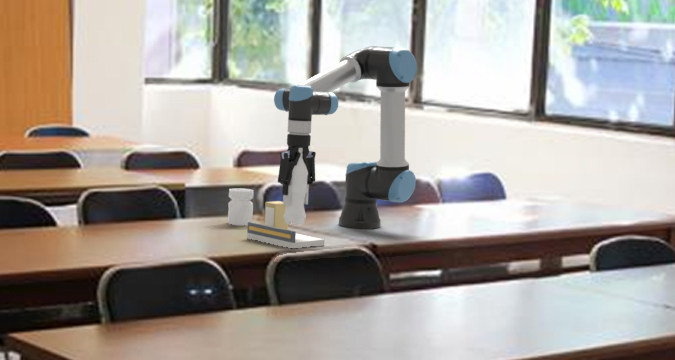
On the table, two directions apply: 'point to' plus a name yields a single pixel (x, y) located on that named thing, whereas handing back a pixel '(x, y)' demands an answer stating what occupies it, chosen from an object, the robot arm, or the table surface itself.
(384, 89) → the robot arm
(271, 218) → the tea box
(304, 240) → the shelf board
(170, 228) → the table surface
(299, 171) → the water bottle
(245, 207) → the white jar
